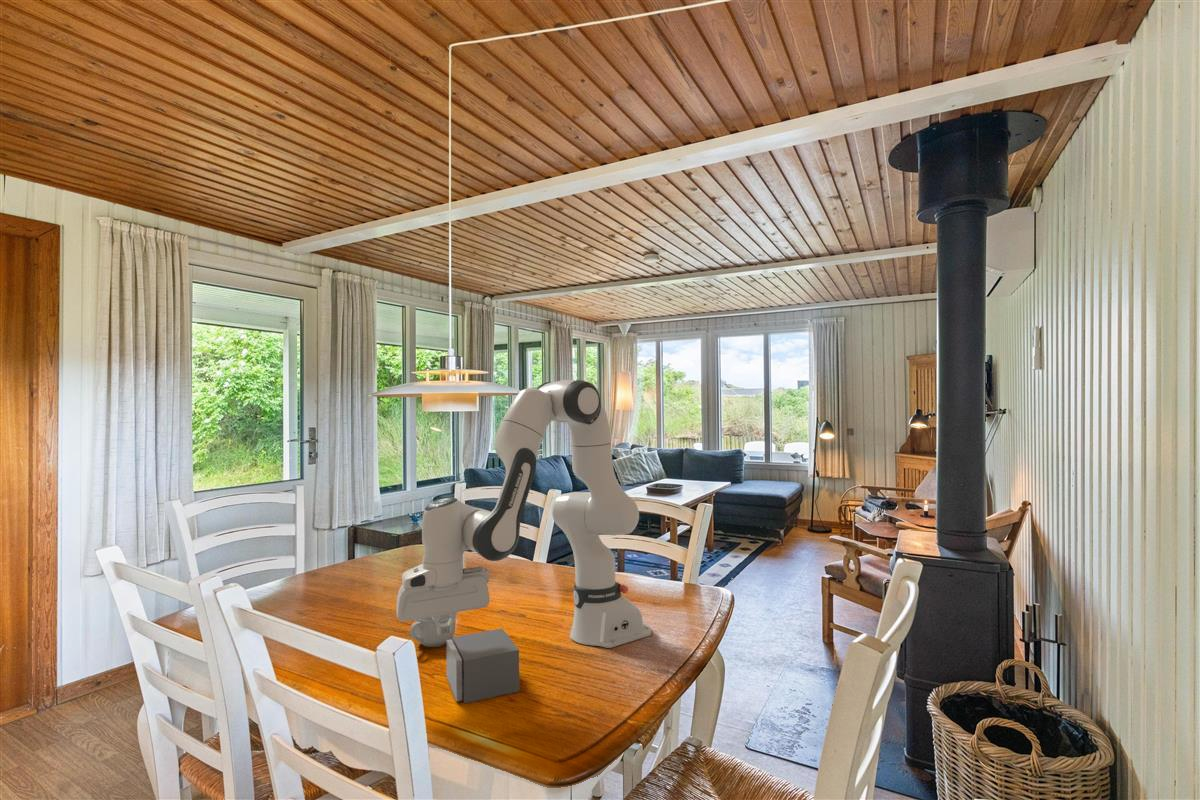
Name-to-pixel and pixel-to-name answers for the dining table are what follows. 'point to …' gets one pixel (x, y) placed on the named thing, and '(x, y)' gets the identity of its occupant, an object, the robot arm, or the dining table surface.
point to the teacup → (431, 631)
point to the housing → (488, 664)
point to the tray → (454, 670)
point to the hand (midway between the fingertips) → (444, 632)
